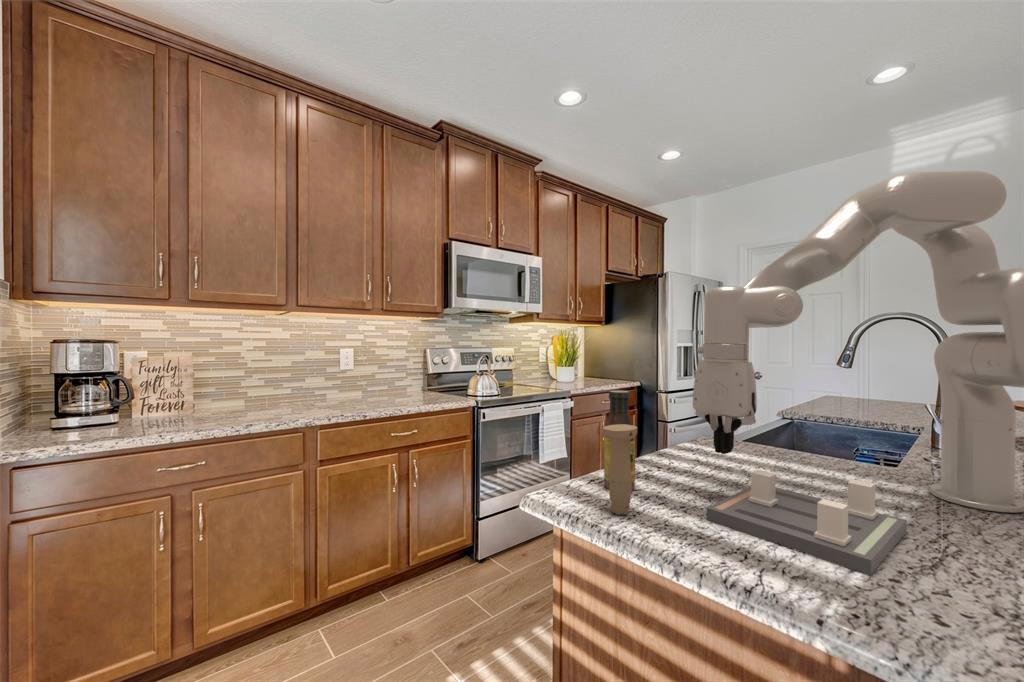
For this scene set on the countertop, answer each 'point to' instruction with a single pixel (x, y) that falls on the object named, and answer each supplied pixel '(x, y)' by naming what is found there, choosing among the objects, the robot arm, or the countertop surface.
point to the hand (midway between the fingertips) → (723, 452)
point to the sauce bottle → (616, 416)
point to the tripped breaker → (763, 488)
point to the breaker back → (861, 499)
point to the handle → (620, 466)
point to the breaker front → (832, 522)
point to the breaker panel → (810, 528)
